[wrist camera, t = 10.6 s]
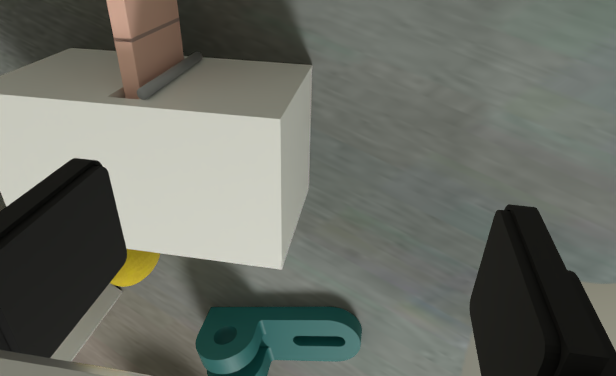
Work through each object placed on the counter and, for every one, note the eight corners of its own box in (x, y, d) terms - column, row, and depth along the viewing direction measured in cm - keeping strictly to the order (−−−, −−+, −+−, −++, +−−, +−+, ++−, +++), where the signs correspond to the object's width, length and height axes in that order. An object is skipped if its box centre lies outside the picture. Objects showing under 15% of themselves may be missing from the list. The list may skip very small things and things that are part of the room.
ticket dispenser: (68, 38, 40) (-44, 79, 30) (312, 55, 37) (280, 106, 27) (100, 165, 47) (16, 233, 36) (308, 188, 44) (281, 269, 33)
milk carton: (124, 290, 56) (13, 440, 40) (96, 314, 59) (-15, 461, 43) (76, 254, 54) (-60, 396, 38) (51, 281, 57) (-84, 421, 41)
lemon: (129, 203, 49) (85, 249, 42) (176, 224, 49) (141, 273, 42) (121, 239, 51) (79, 287, 45) (166, 258, 52) (131, 309, 45)
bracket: (226, 344, 58) (204, 399, 52) (211, 305, 55) (186, 359, 48) (364, 346, 54) (360, 406, 47) (358, 305, 51) (352, 363, 44)
